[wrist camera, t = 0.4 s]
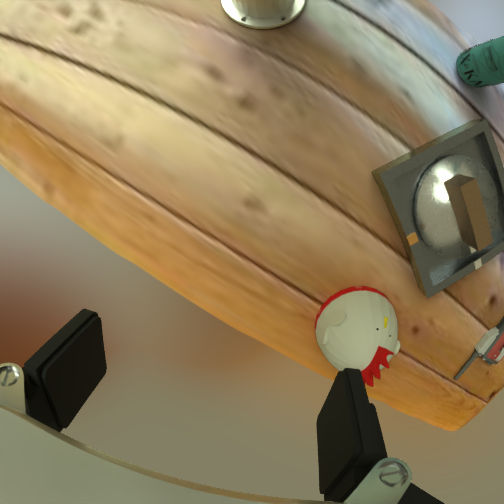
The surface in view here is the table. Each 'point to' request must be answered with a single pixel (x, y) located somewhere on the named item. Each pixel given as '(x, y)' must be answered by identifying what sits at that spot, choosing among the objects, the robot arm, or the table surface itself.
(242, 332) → the table surface
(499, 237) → the dial housing
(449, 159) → the dial
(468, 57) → the beverage bottle
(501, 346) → the walkie-talkie
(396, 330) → the kitchen timer
